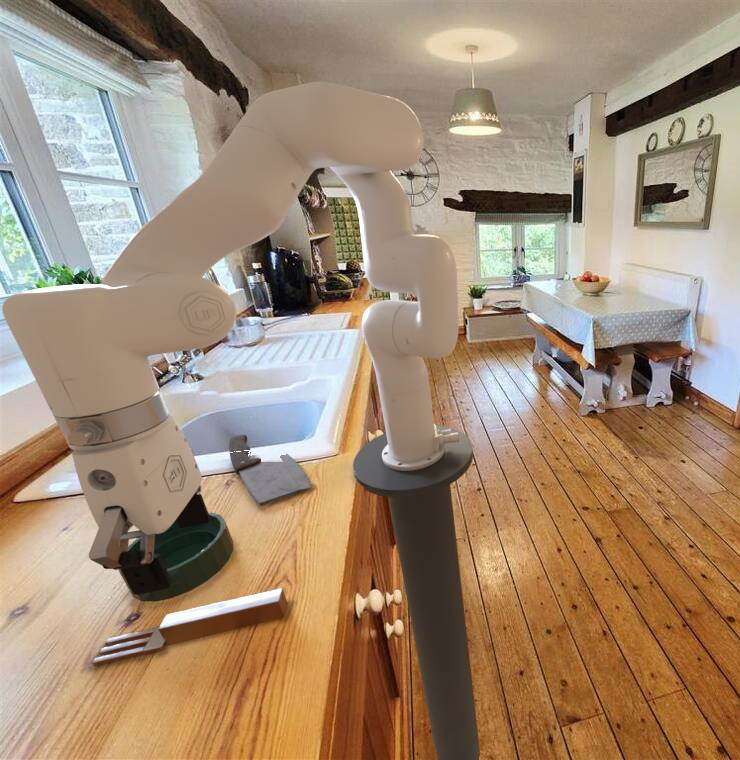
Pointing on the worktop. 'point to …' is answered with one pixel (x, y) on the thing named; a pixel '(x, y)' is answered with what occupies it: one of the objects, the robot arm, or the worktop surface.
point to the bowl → (189, 556)
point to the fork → (196, 625)
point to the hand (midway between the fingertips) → (176, 553)
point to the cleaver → (267, 474)
